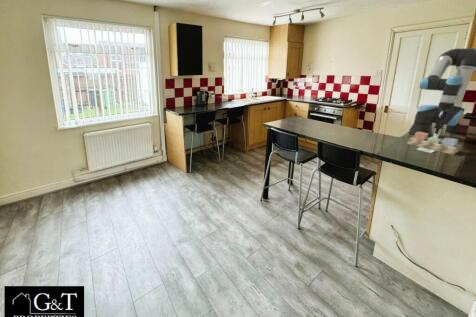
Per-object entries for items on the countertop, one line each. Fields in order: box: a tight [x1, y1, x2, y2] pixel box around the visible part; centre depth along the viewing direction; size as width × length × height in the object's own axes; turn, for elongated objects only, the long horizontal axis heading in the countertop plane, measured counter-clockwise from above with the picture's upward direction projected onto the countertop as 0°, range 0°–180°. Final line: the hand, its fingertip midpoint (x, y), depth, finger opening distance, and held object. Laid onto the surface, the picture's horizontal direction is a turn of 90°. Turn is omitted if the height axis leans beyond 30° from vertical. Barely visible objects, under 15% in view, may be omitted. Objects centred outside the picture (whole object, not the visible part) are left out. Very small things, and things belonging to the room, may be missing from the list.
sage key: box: [427, 136, 443, 144], centre depth 164 cm, size 6×6×5 cm
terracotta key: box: [413, 132, 429, 141], centre depth 170 cm, size 6×6×5 cm
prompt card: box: [416, 147, 435, 154], centre depth 159 cm, size 8×6×1 cm
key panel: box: [406, 135, 462, 156], centre depth 165 cm, size 26×12×4 cm, turn 37°
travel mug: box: [444, 107, 466, 134], centre depth 203 cm, size 8×8×20 cm
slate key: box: [442, 136, 459, 147], centre depth 158 cm, size 6×6×5 cm
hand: (435, 138), depth 163 cm, fingers closed
